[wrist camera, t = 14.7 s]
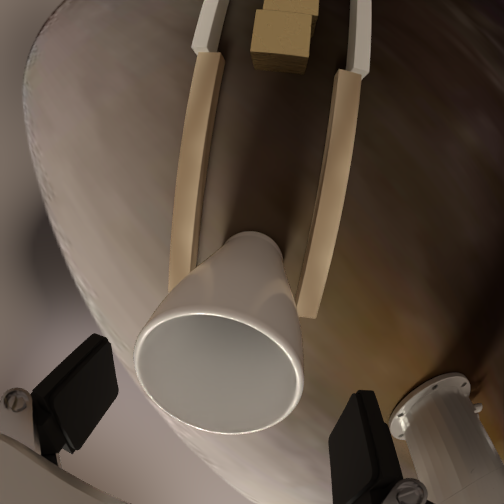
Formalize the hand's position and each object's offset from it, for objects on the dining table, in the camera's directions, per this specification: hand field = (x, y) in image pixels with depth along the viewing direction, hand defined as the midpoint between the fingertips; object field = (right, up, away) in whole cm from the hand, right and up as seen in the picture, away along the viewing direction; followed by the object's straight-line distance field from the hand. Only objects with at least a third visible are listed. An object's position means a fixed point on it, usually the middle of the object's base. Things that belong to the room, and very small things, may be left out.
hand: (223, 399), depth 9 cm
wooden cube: (+4, +22, +9) cm, 24 cm away
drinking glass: (+1, +5, +15) cm, 16 cm away
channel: (+2, +11, +13) cm, 17 cm away
